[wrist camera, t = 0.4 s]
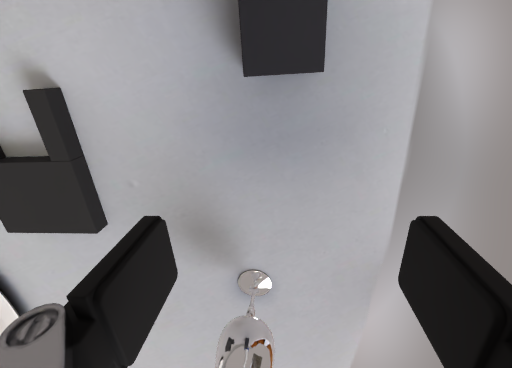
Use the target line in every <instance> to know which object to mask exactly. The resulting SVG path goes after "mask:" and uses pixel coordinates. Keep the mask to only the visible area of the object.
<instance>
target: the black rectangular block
mask: <svg viewBox="0 0 512 368" xmlns="http://www.w3.org/2000/svg"><path fill="white" fill-rule="evenodd" d="M238 1H239V15H240V30H241V44H242V59H243V73H244V77H248V76H265V75H281V74H298V73H314V72H324V61H325V40H326V20H327V0H238Z"/></svg>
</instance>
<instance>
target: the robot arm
mask: <svg viewBox="0 0 512 368" xmlns="http://www.w3.org/2000/svg"><path fill="white" fill-rule="evenodd" d="M177 274H178V272H177V267H176V263H175V259H174V255H173V250H172V246H171V242H170V238H169V234H168V230H167V226H166V222H165V220H162V219H161V217H160V216H144V217H143V218H142V219H141V220H140V221H139V222H138V223H137V224H136V225H135V226H134V227H133V228H132V229H131V230H130V231H129V232H128V233H127V234H126V235H125V236H124V237H123V238H122V239H121V240H120V241H119V242H118V244H117V245H116V246H115V247H114V248H113V249H112V250H111V251H110V252H109V253H108V254H107V255H106V256H105V257H104V258H103V259H102V260H101V261H100V262H99V263H98V264H97V265H96V266H95V267H94V268H93V269H92V270H91V271H90V272H89V273H88V275H87V276H86V277H85V278H84V279H83V280H82V281H81V282H80V283H79V284H78V285H77V286H76V287H75V288H74V289H73V290H72V291H71V292H70V293H69V294H68V295H67V296H66V297H67V299H68V301H69V302H68V303H67V304H66V305H65V306H64V307H63V306H62V305H61V304H56V303H52V304H45V305H42V306H39V307H36V308H34V309H32V310H30V311H28V312H26V313H25V314H23V315H21V316H20V317H18V318H17V319H16V320H14V321H13V322H12V323H11V324H10V325H9V326H8V327H7V328H6V329H5V330H4V331H3V332H2V334H1V335H0V368H127V367H128V366H130V365H132V364H133V363H134V361H135V360H136V358H137V356H138V354H139V352H140V350H141V348H142V346H143V344H144V342H145V340H146V338H147V336H148V334H149V332H150V330H151V328H152V326H153V324H154V322H155V321H156V319H157V317H158V315H159V313H160V311H161V309H162V307H163V305H164V303H165V301H166V299H167V297H168V295H169V293H170V291H171V289H172V287H173V285H174V283H175V282H176V279H177ZM398 281H399V285H400V288H401V290H402V291H403V293H404V295H405V297H406V299H407V301H408V303H409V304H410V306H411V308H412V310H413V312H414V313H415V315H416V317H417V319H418V320H419V323H420V324H421V326H422V328H423V330H424V332H425V334H426V335H427V337H428V339H429V341H430V343H431V344H432V346H433V348H434V350H435V352H436V353H437V355H438V357H439V359H440V361H441V363H442V365H443V366H444V368H512V285H511V284H510V283H509V282H508V281H507V280H506V279H505V278H504V277H503V276H502V275H501V274H499V273H498V272H497V271H496V270H495V269H494V268H493V267H492V266H491V265H490V264H489V263H488V262H486V261H485V260H484V259H483V258H482V257H481V256H480V255H479V254H478V253H477V252H476V251H475V250H473V249H472V248H471V247H470V246H469V245H468V244H467V243H466V242H465V241H464V240H463V239H462V238H461V237H459V236H458V235H457V234H456V233H455V232H454V231H453V230H452V229H451V228H450V227H449V226H447V224H445V223H444V222H443V221H442V220H441V219H440V218H439V217H437V216H419V217H417V218H416V220H413V221H412V222H411V224H410V227H409V232H408V237H407V241H406V245H405V250H404V254H403V258H402V263H401V268H400V272H399V276H398Z"/></svg>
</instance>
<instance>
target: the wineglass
mask: <svg viewBox="0 0 512 368" xmlns="http://www.w3.org/2000/svg"><path fill="white" fill-rule="evenodd" d="M238 285H239V287H240V289H241V290H242V291H243V292H244V293H246V294H248V295H251V301H250V305H249V308H248V310H247V313H246V316H239V317H236V318H234V319H232V320H231V321H230V322H228V324H227V325H226V326H225V327H224V329H223V330H222V333H221V335H220V338H219V341H218V345H217V351H216V360H215V368H273V365H274V356H275V345H274V338H273V335H272V332H271V330H270V329H269V327H268V326H267V324H266V323H265V322H263V321H262V320H261V319H259V318H257V317H254V316H255V309H254V299H255V296H262V295H265V294H267V293H268V292H269V291H270V289H271V286H272V283H271V280H270V278H269V277H268V276H267V275H266V274H265V273H263V272H260V271H256V270H250V271H246V272H244V273H243V274H241V275H240V277H239V279H238Z"/></svg>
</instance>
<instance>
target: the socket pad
mask: <svg viewBox="0 0 512 368" xmlns="http://www.w3.org/2000/svg"><path fill="white" fill-rule="evenodd" d="M23 93H24V95H25V98H26V100H27V103H28V105H29V108H30V110H31V113H32V115H33V117H34V120H35V122H36V125H37V127H38V130H39V132H40V135H41V137H42V140H43V142H44V145H45V147H46V150H47V152H48V154H49V156H47V157H10V158H5V155H4V153H3V151H2V149H1V146H0V219H1V221H2V223H3V225H4V227H5V229H6V230H7V232H8V233H96V234H97V233H98V232H99V231H101V230H102V229H103V228H104V227H105V226H106V225H108V224H107V221H106V218H105V215H104V212H103V209H102V206H101V203H100V201H99V198H98V195H97V192H96V189H95V186H94V183H93V180H92V177H91V175H90V172H89V169H88V166H87V163H86V160H85V157H84V156H83V152H82V149H81V146H80V143H79V140H78V137H77V135H76V132H75V129H74V126H73V123H72V120H71V117H70V114H69V112H68V109H67V106H66V103H65V100H64V97H63V94H62V91H61V89H60V88H49V89H33V90H23Z"/></svg>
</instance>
